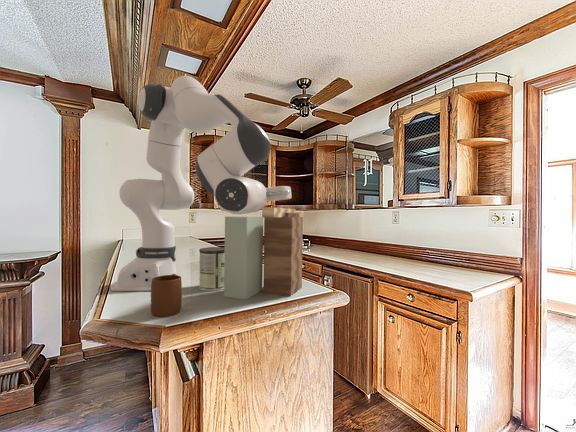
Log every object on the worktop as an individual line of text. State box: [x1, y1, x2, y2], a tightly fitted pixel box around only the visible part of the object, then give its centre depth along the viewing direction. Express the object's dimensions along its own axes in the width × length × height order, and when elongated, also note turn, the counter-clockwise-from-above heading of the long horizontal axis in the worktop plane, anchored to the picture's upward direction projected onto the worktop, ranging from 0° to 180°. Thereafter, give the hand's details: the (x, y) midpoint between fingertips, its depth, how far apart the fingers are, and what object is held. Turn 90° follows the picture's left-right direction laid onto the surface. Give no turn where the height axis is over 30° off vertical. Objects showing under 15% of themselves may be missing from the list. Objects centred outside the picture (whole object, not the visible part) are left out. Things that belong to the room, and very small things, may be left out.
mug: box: [150, 274, 183, 318], centre depth 78 cm, size 12×8×9 cm, turn 6°
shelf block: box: [223, 215, 264, 300], centre depth 95 cm, size 12×8×26 cm, turn 160°
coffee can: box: [198, 246, 225, 292], centre depth 102 cm, size 10×10×14 cm
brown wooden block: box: [262, 212, 304, 297], centre depth 100 cm, size 12×10×28 cm
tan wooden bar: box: [261, 207, 296, 218], centre depth 96 cm, size 20×4×3 cm, turn 160°
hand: (261, 196), depth 88 cm, fingers open, 8 cm apart
